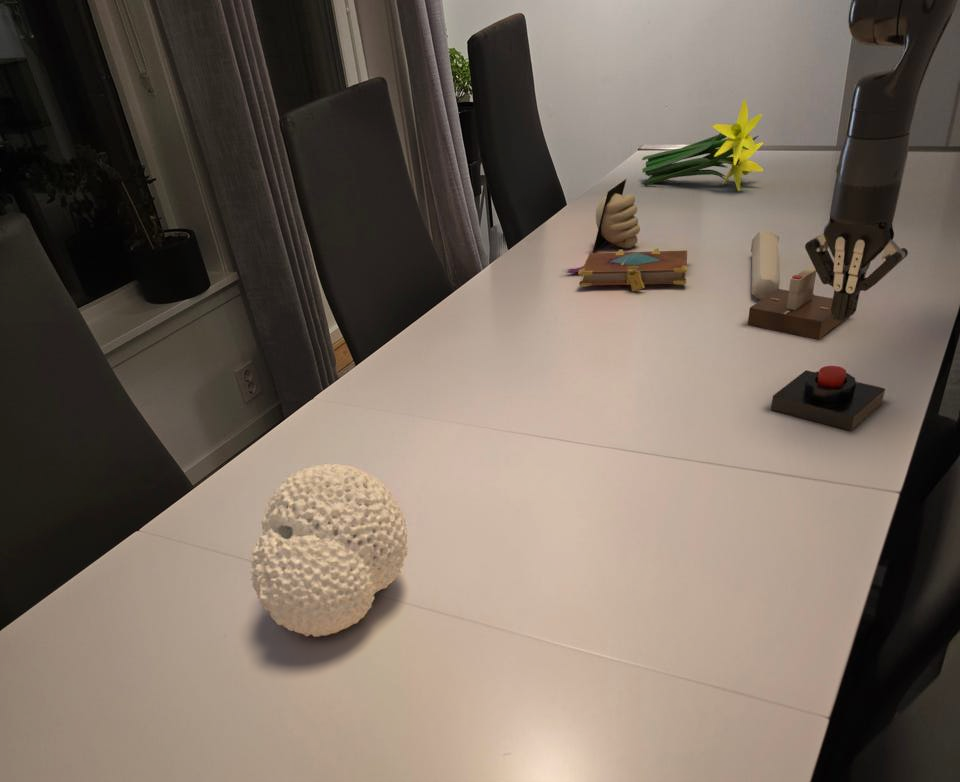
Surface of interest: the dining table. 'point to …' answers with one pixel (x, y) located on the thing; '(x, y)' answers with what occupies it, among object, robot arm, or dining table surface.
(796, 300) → the knob
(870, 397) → the button box
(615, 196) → the decorative object
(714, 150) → the daffodil flowers
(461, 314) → the dining table surface
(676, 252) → the book
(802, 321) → the knob panel
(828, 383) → the button
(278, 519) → the cream bumpy rounded lump
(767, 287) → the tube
